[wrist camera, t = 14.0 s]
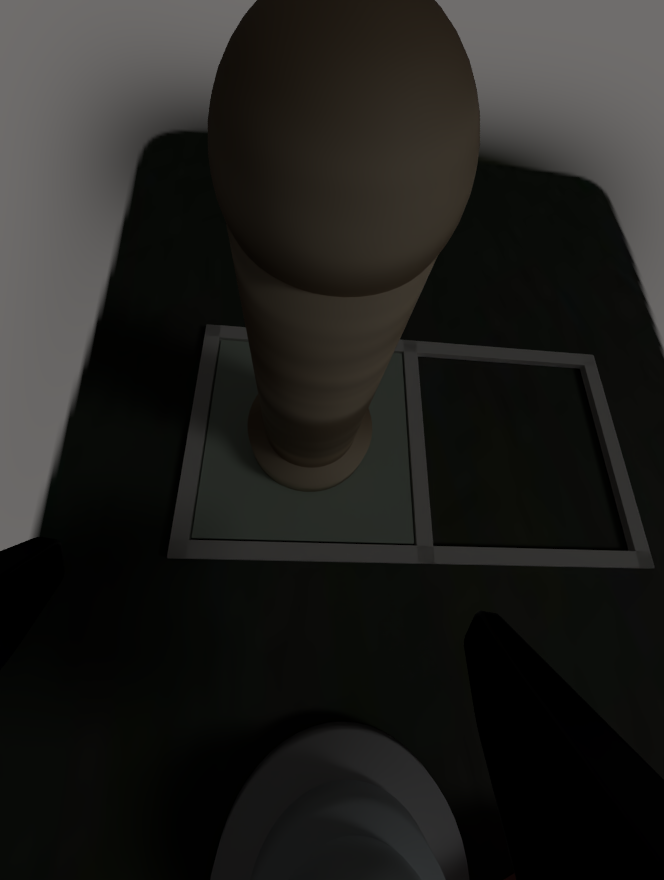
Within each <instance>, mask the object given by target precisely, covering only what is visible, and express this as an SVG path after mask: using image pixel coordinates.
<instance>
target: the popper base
mask: <svg viewBox="0 0 664 880" xmlns="http://www.w3.org/2000/svg"><path fill="white" fill-rule="evenodd" d="M337 780H358V781H363V782H367V783H370V784H373V785H375V786H378V787H380V788H381V789H383V790H385V791H386V792H388V793H390V794H391V795H392V796H393V797H395V798H396V799H397V800H398V801H399V802H400V803H401V804H402V805H403V806H404V807H405V808H406V809H407V810H408V811H409V813H410V814H411V816H412V817H413V818H414V820H415V821H416V823H417V824H418V826H419V828H420V830H421V832H422V833H423V835H424V837H425V839H426V841H427V843H428V845H429V847H430V849H431V850H432V852H433V854H434V856H435V858H436V860H437V862H438V864H439V866H440V868H441V870H442V872H443V875H444V877H445V879H446V880H469V872H468V865H467V859H466V855H465V851H464V846H463V842H462V838H461V835H460V832H459V830H458V827H457V824H456V821H455V818H454V816H453V814H452V812H451V809H450V807H449V805H448V803H447V801H446V799H445V798H444V796H443V794H442V793H441V791H440V789H439V787H438V786H437V784H436V783H435V782H434V780H433V779H432V777H431V776H430V775H429V773H428V772H427V771H426V769H425V768H424V767H423V765H422V764H421V763H420V761H419V760H418V759H417V758H416V757H415V756H414V755H413V754H412V753H411V752H410V751H409V749H408V748H406V747H405V746H404V745H403V744H401V743H400V742H399V741H398V740H396V739H395V738H394V737H392V736H390V735H388V734H387V733H385V732H383V731H381V730H379V729H376V728H374V727H371V726H369V725H364V724H360V723H355V722H341V721H340V722H330V723H323V724H320V725H316V726H312V727H310V728H307V729H305V730H303V731H300V732H298V733H296V734H295V735H293V736H291V737H290V738H288V739H286V740H285V741H283V742H282V743H281V744H280V745H278V746H277V747H276V748H275V749H273V750H272V751H271V752H270V753H269V754H268V755H267V756H266V757H265V758H264V759H263V760H262V761H261V762H260V763H259V764H258V766H257V767H256V768H255V770H254V771H253V772H252V774H251V775H250V776H249V778H248V779H247V781H246V782H245V784H244V786H243V787H242V789H241V790H240V792H239V794H238V795H237V798H236V800H235V802H234V804H233V806H232V808H231V810H230V812H229V815H228V818H227V820H226V823H225V826H224V829H223V832H222V835H221V838H220V842H219V846H218V849H217V853H216V857H215V861H214V865H213V869H212V873H211V878H210V880H251V875H252V872H253V869H254V866H255V863H256V859H257V857H258V854H259V852H260V850H261V847H262V845H263V843H264V841H265V839H266V837H267V835H268V834H269V832H270V830H271V828H272V827H273V826H274V824H275V823H276V821H277V820H278V818H279V817H280V816H281V815H282V814H283V812H284V811H285V810H286V809H287V808H288V807H289V806H290V805H291V804H292V803H293V802H294V801H295V800H297V799H298V798H299V797H300V796H302V795H303V794H305V793H306V792H308V791H309V790H311V789H313V788H315V787H317V786H319V785H322V784H325V783H328V782H332V781H337Z"/></svg>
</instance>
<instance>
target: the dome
mask: <svg viewBox="0 0 664 880" xmlns="http://www.w3.org/2000/svg"><path fill="white" fill-rule="evenodd" d="M251 880H446V879H445V877H444V875H443V872H442V870H441V868H440V866H439V864H438V862H437V860H436V858H435V856H434V854H433V852H432V850H431V849H430V847H429V845H428V843H427V841H426V839H425V837H424V835H423V833H422V832H421V830H420V828H419V826H418V824H417V823H416V821H415V820H414V818H413V817H412V816H411V814H410V813H409V811H408V810H407V809H406V808H405V807H404V806H403V805H402V804H401V803H400V802H399V801H398V800H397V799H396V798H395V797H393V796H392V795H391V794H390V793H388V792H386V791H385V790H383V789H381V788H380V787H378V786H375V785H373V784H370V783H367V782H363V781H358V780H337V781H332V782H328V783H325V784H322V785H319V786H317V787H315V788H313V789H311V790H309V791H308V792H306V793H305V794H303V795H302V796H300V797H299V798H298V799H297V800H295V801H294V802H293V803H292V804H291V805H290V806H289V807H288V808H287V809H286V810H285V811H284V812H283V814H282V815H281V816H280V817H279V818H278V820H277V821H276V823H275V824H274V826H273V827H272V828H271V830H270V832H269V834H268V835H267V837H266V839H265V841H264V843H263V845H262V847H261V850H260V852H259V854H258V857H257V859H256V863H255V866H254V869H253V872H252V875H251Z"/></svg>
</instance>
